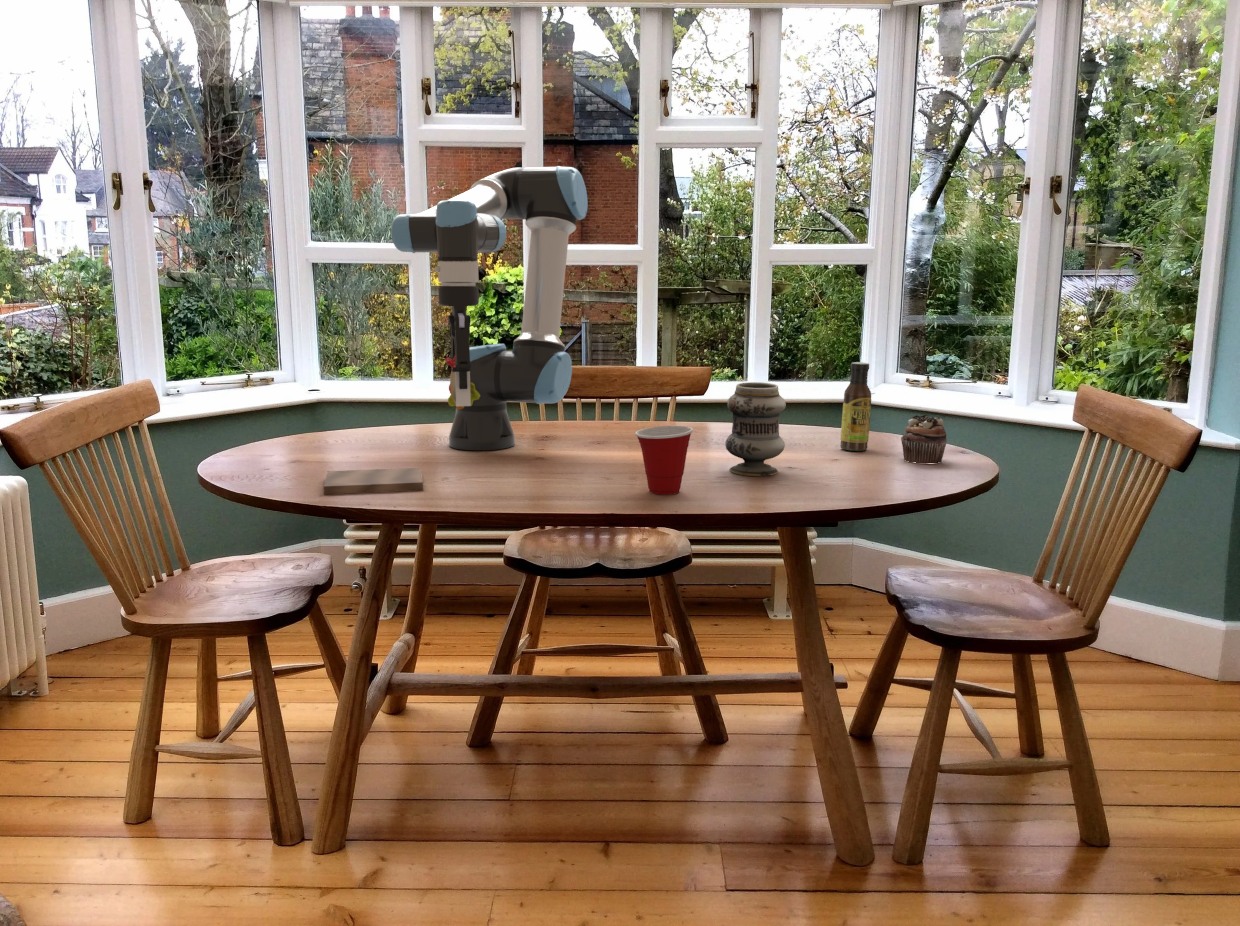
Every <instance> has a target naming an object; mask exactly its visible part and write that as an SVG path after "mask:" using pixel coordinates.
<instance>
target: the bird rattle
mask: <svg viewBox="0 0 1240 926" xmlns="http://www.w3.org/2000/svg"><path fill="white" fill-rule="evenodd" d="M444 362H445V363H446V364H447V365H448V366H450V367H451V372H450V379H449V384H448V391H449V394H450V395H449V397H448V398H447V403H448V406H449V407H455V409H456V408H457V409H463V408H464V406H456V387H455V372H452V368H454V367H456V360H455V356H454V360H452V359H451V357H446V358H445V359H444ZM470 396H471V406H472V404H473V401H474V400H478V399H479V397H480V394H479V393H478V392H477V391H476V390H475V386H474V384H473V383H472V382H470Z"/></svg>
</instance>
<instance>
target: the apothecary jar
mask: <svg viewBox="0 0 1240 926" xmlns="http://www.w3.org/2000/svg"><path fill="white" fill-rule="evenodd" d="M786 403H787V402H786V401H785V399H784V397H782V396H781V395H780V392H779V385H778V384H775V383H769V382H762V381H761V382H760V381H759V382H752V381H751V382H741V383H737V384H736V385H735V390H734V393H733V394H732V395H731V396H729V398H728V399H727V402H726V405H727V409H728V410H729V411H730V412H732V426H731V428H732V429H731V434H729V436H727V438H726V440H725V443H724V444H725V445H724V446H725V449H726V450H727V451H728V453H729V454H730V455H732V456H734V457H736V458H739V459H742V460H743V461H744V462H739V463H738V464H736V465H733V466H731V467H730V468H729V472H730V473H732V474H735V475H740V476H745V477H765V476H769V477H771V476H775V475H777V474H778V473H779V471H778V469H777V468H776V467H773V466H772V465H770V464H768V463H765V461H766V460H770V459H773V458H776V457H778V456H779V455H781V454H782V453H783V451H784V450H785V446H786V445H785V443H786V442H785V441H784V439H783V437H781V436H780V414H781V413H782V412H784V411H785V409H786V405H787V404H786Z"/></svg>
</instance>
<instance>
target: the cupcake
mask: <svg viewBox="0 0 1240 926" xmlns="http://www.w3.org/2000/svg"><path fill="white" fill-rule="evenodd" d="M907 423H908V425H907V426H906V427H905V429H904V430H905V432H904V434H903V435H902V437H900V440H901V445H902V453H903V461H904V460H906V461H909V462H908V463H910V462H916V463H937V464H939V463H938V462H941V463H942V461H943V458H944V453H945V449H946V446H947V444H948V443H947V442H948V441H947V439H948V438H947V436H948V435H947V432H946V429H945V426H944V420H943V419H942V418H940V417H939V416H938V417H937V416H936V417H934V416H932V417H930V416H929V415H928V414H923V415H921V416H918V415H914V416H911V419H909V420H907ZM906 461H905V462H906ZM916 463H915V464H916Z"/></svg>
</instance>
